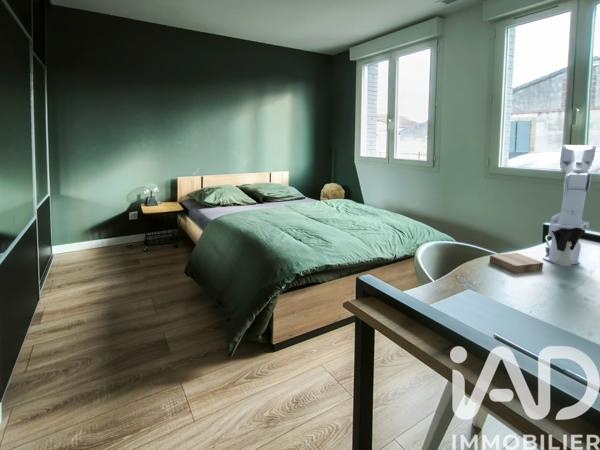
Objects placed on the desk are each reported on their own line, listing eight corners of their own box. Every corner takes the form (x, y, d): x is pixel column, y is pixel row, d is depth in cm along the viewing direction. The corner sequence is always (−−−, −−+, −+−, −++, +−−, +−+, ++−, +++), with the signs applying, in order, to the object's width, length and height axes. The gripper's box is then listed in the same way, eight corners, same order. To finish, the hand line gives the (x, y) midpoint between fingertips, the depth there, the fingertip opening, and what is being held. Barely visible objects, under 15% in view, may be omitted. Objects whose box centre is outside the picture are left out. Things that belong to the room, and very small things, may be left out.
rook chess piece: (573, 267, 121) (577, 243, 119) (557, 265, 122) (561, 242, 120) (567, 263, 125) (571, 240, 123) (552, 261, 126) (556, 239, 125)
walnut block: (515, 260, 143) (516, 252, 142) (542, 270, 131) (543, 262, 131) (489, 262, 140) (490, 255, 139) (514, 274, 128) (515, 266, 128)
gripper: (566, 213, 114) (559, 255, 117) (601, 211, 117) (593, 251, 121) (545, 209, 120) (539, 249, 124) (580, 207, 124) (573, 245, 127)
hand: (565, 249), depth 123 cm, fingers closed on rook chess piece, 3 cm apart
